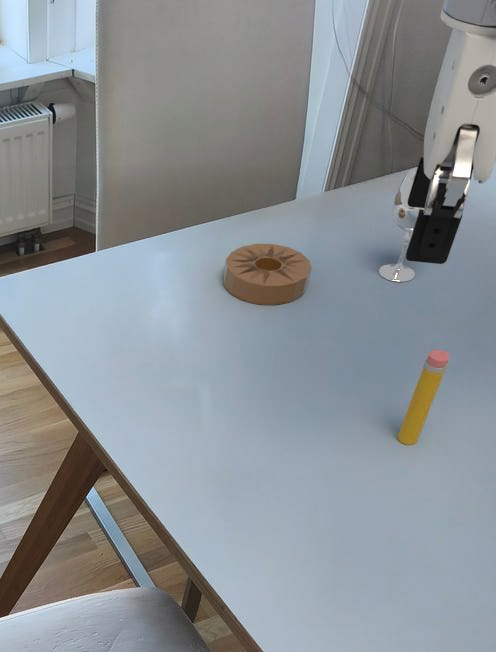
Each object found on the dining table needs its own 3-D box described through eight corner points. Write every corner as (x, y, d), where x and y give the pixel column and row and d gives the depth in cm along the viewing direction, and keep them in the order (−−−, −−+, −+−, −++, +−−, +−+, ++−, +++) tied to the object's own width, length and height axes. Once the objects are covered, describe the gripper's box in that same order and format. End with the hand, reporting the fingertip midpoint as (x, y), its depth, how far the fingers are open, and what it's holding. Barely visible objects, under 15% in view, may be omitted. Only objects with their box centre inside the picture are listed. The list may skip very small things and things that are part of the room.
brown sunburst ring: (301, 263, 115) (305, 243, 113) (310, 305, 109) (315, 286, 107) (221, 262, 116) (223, 243, 114) (225, 304, 110) (229, 284, 108)
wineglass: (418, 287, 111) (452, 189, 101) (371, 280, 112) (400, 183, 103) (421, 265, 114) (454, 168, 105) (375, 259, 116) (404, 163, 106)
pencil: (415, 433, 93) (448, 349, 85) (418, 445, 92) (452, 361, 84) (395, 432, 93) (426, 349, 85) (399, 444, 92) (430, 360, 84)
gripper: (571, 40, 57) (474, 289, 70) (549, -38, 67) (468, 191, 80) (448, 34, 58) (376, 279, 72) (445, -42, 69) (382, 184, 82)
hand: (425, 232), depth 76 cm, fingers open, 9 cm apart
